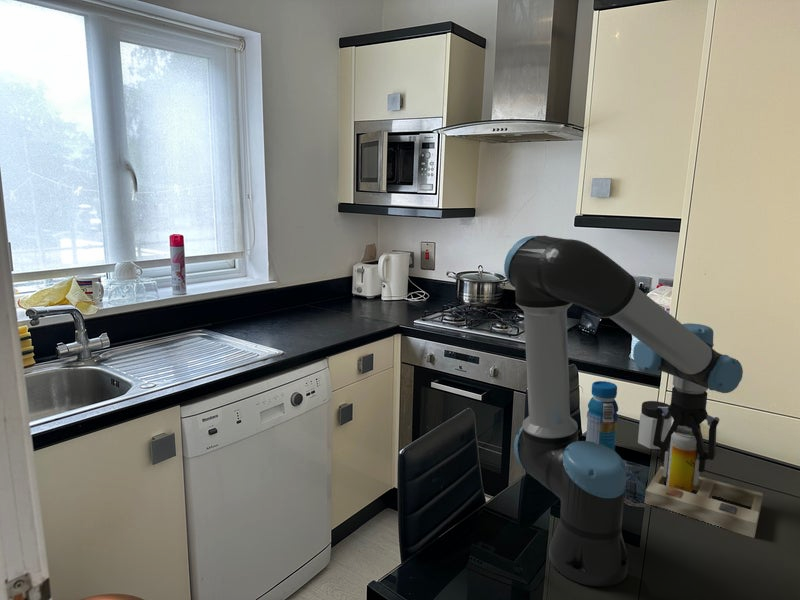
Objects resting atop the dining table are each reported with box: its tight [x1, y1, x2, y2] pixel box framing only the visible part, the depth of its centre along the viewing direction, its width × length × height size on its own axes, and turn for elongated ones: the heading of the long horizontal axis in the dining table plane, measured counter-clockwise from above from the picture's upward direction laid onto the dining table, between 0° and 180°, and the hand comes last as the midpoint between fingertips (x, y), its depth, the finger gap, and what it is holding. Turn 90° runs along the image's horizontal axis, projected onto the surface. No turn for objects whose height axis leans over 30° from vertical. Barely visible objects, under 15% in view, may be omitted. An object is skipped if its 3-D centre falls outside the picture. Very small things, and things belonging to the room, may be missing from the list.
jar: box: [637, 400, 673, 450], centre depth 166 cm, size 9×8×12 cm
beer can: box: [665, 427, 699, 493], centre depth 137 cm, size 6×6×15 cm
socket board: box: [644, 465, 764, 539], centre depth 134 cm, size 22×16×4 cm
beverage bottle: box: [585, 380, 619, 452], centre depth 161 cm, size 8×8×20 cm
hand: (680, 478), depth 138 cm, fingers closed on beer can, 6 cm apart
